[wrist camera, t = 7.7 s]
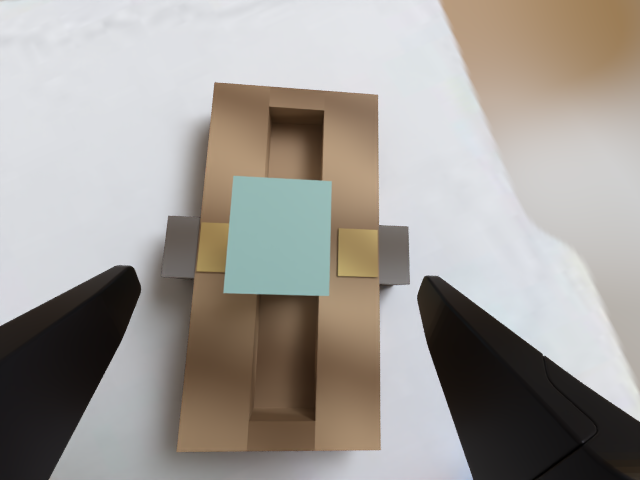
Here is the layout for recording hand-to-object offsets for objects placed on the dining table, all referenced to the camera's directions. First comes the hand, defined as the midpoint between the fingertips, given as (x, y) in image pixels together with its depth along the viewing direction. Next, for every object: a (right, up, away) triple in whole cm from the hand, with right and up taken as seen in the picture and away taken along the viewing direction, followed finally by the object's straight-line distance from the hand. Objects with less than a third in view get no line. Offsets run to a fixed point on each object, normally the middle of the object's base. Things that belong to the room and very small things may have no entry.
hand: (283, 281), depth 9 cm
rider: (0, 0, +6) cm, 6 cm away
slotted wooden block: (-1, 0, +8) cm, 8 cm away
